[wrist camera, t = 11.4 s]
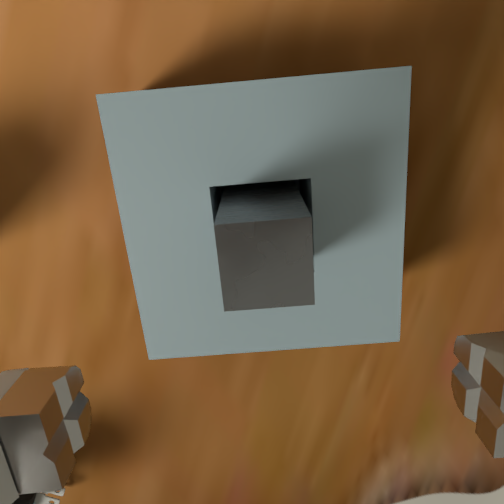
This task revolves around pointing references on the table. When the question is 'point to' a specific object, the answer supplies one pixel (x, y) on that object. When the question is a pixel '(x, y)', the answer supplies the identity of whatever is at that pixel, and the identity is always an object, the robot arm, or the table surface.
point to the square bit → (264, 246)
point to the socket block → (255, 171)
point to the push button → (38, 498)
